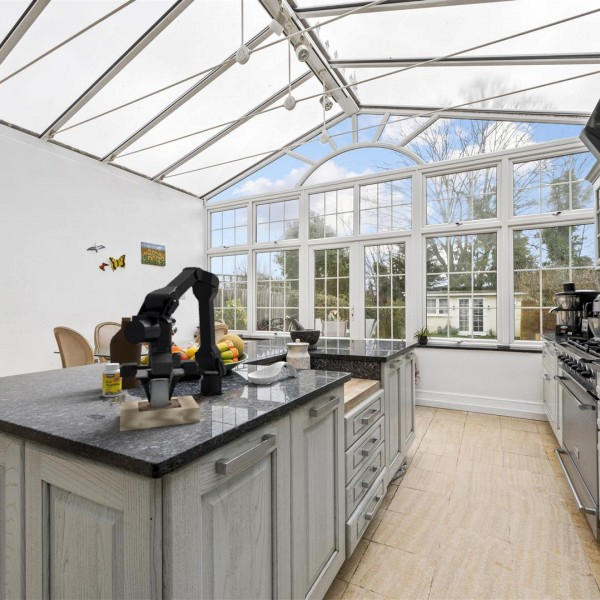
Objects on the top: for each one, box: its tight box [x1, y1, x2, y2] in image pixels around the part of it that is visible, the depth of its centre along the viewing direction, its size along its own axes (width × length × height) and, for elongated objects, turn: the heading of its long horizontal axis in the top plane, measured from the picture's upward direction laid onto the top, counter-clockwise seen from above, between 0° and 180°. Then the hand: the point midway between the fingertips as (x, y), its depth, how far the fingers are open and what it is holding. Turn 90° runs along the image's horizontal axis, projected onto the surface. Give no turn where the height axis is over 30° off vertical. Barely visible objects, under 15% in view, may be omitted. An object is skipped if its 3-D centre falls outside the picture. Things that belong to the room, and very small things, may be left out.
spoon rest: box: [247, 361, 298, 385], centre depth 146 cm, size 24×12×7 cm, turn 141°
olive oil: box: [109, 316, 143, 390], centre depth 134 cm, size 11×11×25 cm
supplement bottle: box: [101, 362, 122, 398], centre depth 121 cm, size 6×6×10 cm
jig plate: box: [119, 395, 201, 432], centre depth 96 cm, size 18×14×4 cm
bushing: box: [149, 378, 170, 408], centre depth 96 cm, size 4×4×8 cm
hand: (159, 401), depth 96 cm, fingers closed on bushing, 4 cm apart
